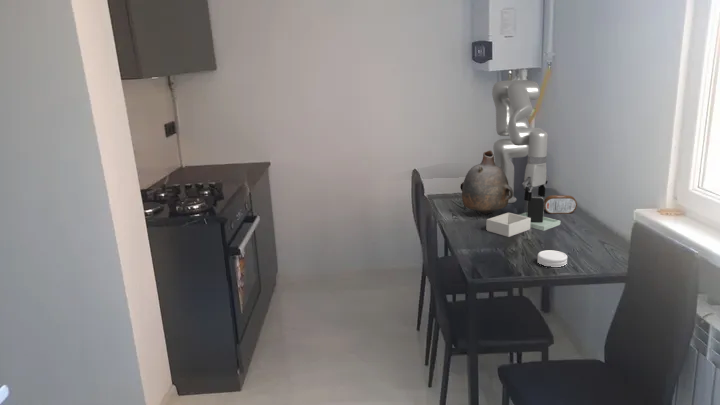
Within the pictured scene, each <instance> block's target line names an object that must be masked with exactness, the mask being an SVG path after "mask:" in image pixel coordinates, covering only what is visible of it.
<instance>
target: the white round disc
mask: <svg viewBox="0 0 720 405" xmlns="http://www.w3.org/2000/svg"><path fill="white" fill-rule="evenodd" d="M538 263H539V264H542V265H544V266H551V267H561V266H564V265H566V264H567V265H568V255H567V254H566V253H565V252H563V251H558V250H553V249H552V250H551V249H550V250H541V251H539V252H538V253H537V264H538ZM539 264H538V265H539ZM567 265H566V266H567Z"/></svg>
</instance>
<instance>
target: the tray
mask: <svg viewBox="0 0 720 405" xmlns="http://www.w3.org/2000/svg"><path fill="white" fill-rule="evenodd" d="M518 215H521V216H525V217H527V212H522V213H519V214H518ZM560 225H561V220H560V219H559V220H558V219H554V218H551V217H547V216H543V222H531V223H530V229H531V228H532V229H536V230H540V231H543V232H545V231H547V230H550V229H552V228H555V227H558V226H560Z"/></svg>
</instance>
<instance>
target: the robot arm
mask: <svg viewBox="0 0 720 405" xmlns="http://www.w3.org/2000/svg"><path fill="white" fill-rule="evenodd" d="M491 95H492V99H493V104H494V106H495V128H496V129H495V131H496V134H497V135H498V136H500V137H509V138H500V139H497V140H496V141H495V142H494V143H493V154H494V162H495V165H496V166H498V167H500V168H501V169H502V170H503V171H504V173H505V175H506V177H507V179H508V184H509V186H510V187H511V188H512V190H513V192H514V185H515V165H514V163H513V161H511V159H513V158H514V159H515V158H525V157H527V163H526V166H525V170H524V177H523V178H524V179H523V182H522V184H521V185H522V189H523V191H524V201H531V200H532V196H533V193H532V190H533V188H537V187H538V189H537V196H541V197H542V198H546V197H545V196H546V188H547V184H548V181H549V178H550V177H549V175H547V171H548V170H547V158H548V157H547V155H548V153H547V152H548V137H549V135H548V132H547V131H545V130H543V128H541V127H530V122H529V119H528V118H527V117H528V116H530V115H531V114H532V112H533V105H532V102H531V101H536V100H538V99H539V98H540V95H541V88H540V86H539V84H538V83H537V81H534V80H529V79H517V80H516V79H515V80H513V79H511V80H500V81H497V82H495V83H494V84H493V85H492V90H491ZM509 196H510V191H509ZM516 202H517V198H516V197H515V196H513V197H512V198H511V199H509V200H508V204H512V203H516Z"/></svg>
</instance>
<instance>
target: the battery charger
mask: <svg viewBox="0 0 720 405" xmlns="http://www.w3.org/2000/svg"><path fill="white" fill-rule="evenodd" d="M544 200H545V198H544V197H542V196H538V195H536V196H534V195H532V200H531V201H527V200H526V201H527V202H526V204H527V205H526V206H527V207H526V208H527V210H526V211H527V212H526V213H527V217H529V218H531V222H543V217H544V212H545V209H544Z"/></svg>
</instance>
